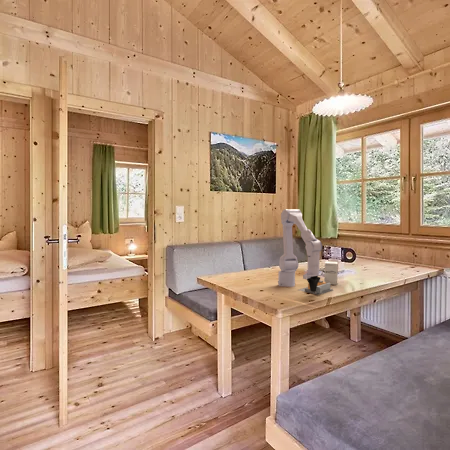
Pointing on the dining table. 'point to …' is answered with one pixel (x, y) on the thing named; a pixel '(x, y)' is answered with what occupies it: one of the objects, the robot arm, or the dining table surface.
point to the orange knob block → (321, 282)
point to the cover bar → (323, 288)
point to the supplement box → (331, 272)
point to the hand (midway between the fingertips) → (313, 291)
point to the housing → (312, 291)
